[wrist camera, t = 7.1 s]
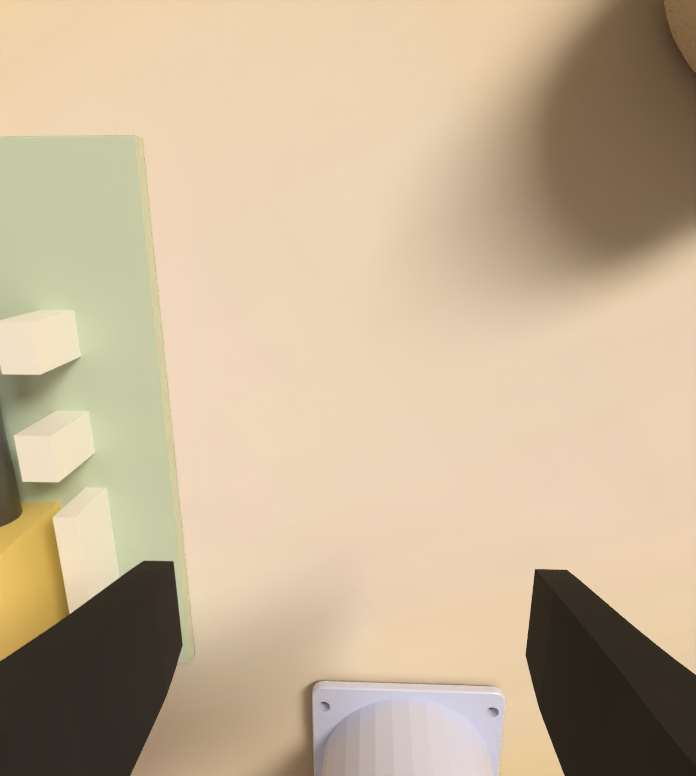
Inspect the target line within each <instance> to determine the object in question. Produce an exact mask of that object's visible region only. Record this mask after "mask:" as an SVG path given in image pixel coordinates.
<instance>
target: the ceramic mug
mask: <svg viewBox="0 0 696 776" xmlns="http://www.w3.org/2000/svg"><path fill="white" fill-rule="evenodd" d="M664 6H665V11H666V17H667V20H668V24H669V27H670V30H671V34H672V37H673V39H674V41H675V43H676V45H677V46H678V48H679V50H680V51H681V53H682V55H683V56H684V58H685V60H686V61H687V63H688V65H689V66H690V67H691V68H692V70H693V71H694V72H695V73H696V0H664Z"/></svg>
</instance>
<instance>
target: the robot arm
mask: <svg viewBox="0 0 696 776" xmlns="http://www.w3.org/2000/svg"><path fill="white" fill-rule="evenodd" d="M182 646H183V643H182V634H181V624H180V615H179V606H178V597H177V588H176V579H175V569H174V561H143V562H141V563H140V564H138V565H136V566H135V567H134V568H132V569H131V570H129V571H128V572H126V573H125V574H124V575H122V576H121V577H120V578H118V579H117V580H115V581H114V582H113V583H111V584H110V585H109V586H107V587H106V588H105V589H103V590H102V591H101V592H99V593H98V594H97V595H95V596H94V597H92V598H91V599H90V600H88V601H87V602H86V603H84V604H83V605H81V606H80V607H79V608H77V609H76V610H75V611H73V612H72V613H70V614H69V615H68V616H66V617H65V618H63V619H62V620H61V621H59V622H58V623H56V624H55V625H54V626H52V627H51V628H49V629H48V630H46V631H45V632H43V633H42V634H40V635H39V636H37V637H36V638H34V639H33V640H31V641H30V642H28V643H27V644H25V645H24V646H22V647H21V648H19V649H18V650H16V651H15V652H13V653H12V654H10V655H9V656H7V657H6V658H4V659H3V660H1V661H0V776H130V775H131V772H132V770H133V768H134V766H135V764H136V762H137V760H138V757H139V755H140V753H141V751H142V749H143V747H144V744H145V742H146V740H147V738H148V736H149V734H150V731H151V729H152V727H153V725H154V723H155V720H156V718H157V716H158V714H159V712H160V709H161V707H162V705H163V703H164V700H165V698H166V696H167V693H168V690H169V687H170V684H171V681H172V678H173V675H174V672H175V669H176V665H177V662H178V659H179V656H180V652H181V649H182ZM526 658H527V662H528V666H529V671H530V675H531V679H532V683H533V687H534V691H535V694H536V698H537V702H538V706H539V709H540V712H541V714H542V717H543V720H544V723H545V725H546V728H547V730H548V733H549V736H550V738H551V741H552V744H553V746H554V749H555V752H556V754H557V757H558V759H559V762H560V765H561V767H562V770H563V772H564V775H565V776H696V675H695V674H694V673H692V672H691V671H690V670H688V669H687V668H686V667H684V666H683V665H682V664H680V663H679V662H678V661H676V660H675V659H674V658H673V657H671V656H670V655H669V654H667V653H666V652H665V651H664V650H662V649H661V648H660V647H659V646H657V645H656V644H655V643H654V642H652V641H651V640H650V639H649V638H647V637H646V636H645V635H644V634H642V633H641V632H640V631H639V630H638V629H636V628H635V627H634V626H633V625H632V624H630V623H629V622H628V621H627V620H626V619H624V618H623V617H622V616H621V615H620V614H618V613H617V612H616V611H615V610H614V609H613V608H611V607H610V606H609V605H608V604H607V603H606V602H604V601H603V600H602V599H601V598H600V597H599V596H597V595H596V594H595V593H594V592H593V591H592V590H590V589H589V588H588V587H587V586H586V585H585V584H583V583H582V582H581V581H580V580H579V579H578V578H576V577H575V576H574V575H573V574H571V573H570V572H569V571H568V570H546V569H535V575H534V585H533V594H532V603H531V612H530V621H529V630H528V639H527V648H526ZM321 702H327V704H323V703H321ZM492 707H494V709H489V708H492ZM504 712H505V697H504V694H503V692H502V690H501V689H499V688H498V687H494V686H468V685H436V684H404V683H372V682H339V681H321V682H318V683H316V684H315V685H314V686H313V691H312V719H313V755H314V776H498V772H499V762H500V752H501V742H502V732H503V722H504Z"/></svg>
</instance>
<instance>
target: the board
mask: <svg viewBox="0 0 696 776" xmlns="http://www.w3.org/2000/svg"><path fill="white" fill-rule="evenodd" d="M0 408H1V413H2V417H3V422H4V427H5V431H6V436H7V441H8V445H9V450H10V454H11V459H12V464H13V468H14V473H15V478H16V482H17V487H18V492H19V496H20V501H21V502H60V505H61V510H60V511H59V512H58V513H57V514H56V515H55V516H54V517H52V518H53V523H54V529H55V535H56V540H57V546H58V552H59V557H60V563H61V568H62V574H63V580H64V585H65V591H66V596H67V602H68V608H69V613H72V612H73V611H75V610H76V609H77V608H79V607H80V606H81V605H83V604H84V603H86V602H87V601H88V600H90V599H91V598H92V597H94V596H95V595H97V594H98V593H99V592H101V591H102V590H103V589H105V588H106V587H107V586H109V585H110V584H111V583H113V582H114V581H115V580H117V579H118V578H120V577H121V576H122V575H124V574H125V573H126V572H128V571H129V570H131V569H132V568H134V567H135V566H136V565H138V564H140V563H141V562H143V561H174V569H175V579H176V588H177V597H178V606H179V615H180V624H181V634H182V643H183V646H182V649H181V652H180V656H179V659H178V662H177V664H190V663H191V661H192V659H193V656H194V654H195V651H194V641H193V631H192V621H191V612H190V602H189V592H188V582H187V573H186V563H185V553H184V543H183V533H182V524H181V514H180V504H179V494H178V484H177V475H176V465H175V455H174V445H173V435H172V426H171V416H170V406H169V396H168V386H167V377H166V367H165V357H164V347H163V337H162V328H161V318H160V308H159V298H158V289H157V279H156V269H155V259H154V249H153V240H152V230H151V220H150V210H149V200H148V191H147V181H146V171H145V161H144V151H143V142H142V138H140V137H138V136H135V135H104V136H6V137H0Z"/></svg>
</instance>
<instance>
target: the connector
mask: <svg viewBox="0 0 696 776" xmlns="http://www.w3.org/2000/svg"><path fill="white" fill-rule="evenodd" d="M60 510H61V505H60V502H21V501H20V496H19V492H18V487H17V482H16V478H15V473H14V468H13V464H12V459H11V454H10V450H9V445H8V441H7V436H6V431H5V427H4V422H3V417H2V413H1V408H0V661H1V660H3V659H4V658H6V657H7V656H9V655H10V654H12V653H13V652H15V651H16V650H18V649H19V648H21V647H22V646H24V645H25V644H27V643H28V642H30V641H31V640H33V639H34V638H36V637H37V636H39V635H40V634H42V633H43V632H45V631H46V630H48V629H49V628H51V627H52V626H54V625H55V624H56V623H58V622H59V621H61V620H62V619H63V618H65V617H66V616H68V615H69V614H70V613H69V608H68V602H67V596H66V591H65V585H64V580H63V574H62V568H61V563H60V557H59V552H58V546H57V540H56V535H55V529H54V523H53V518H52V517H54V516H55V515H56V514H57V513H58V512H59V511H60Z"/></svg>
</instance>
